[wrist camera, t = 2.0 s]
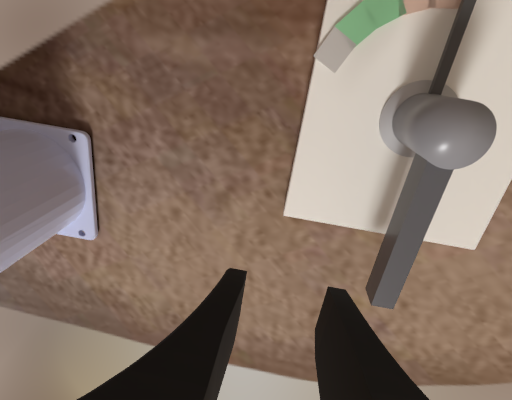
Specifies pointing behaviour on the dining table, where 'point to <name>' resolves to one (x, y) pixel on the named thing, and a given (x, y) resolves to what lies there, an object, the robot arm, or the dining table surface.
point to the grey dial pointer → (429, 164)
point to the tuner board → (385, 105)
